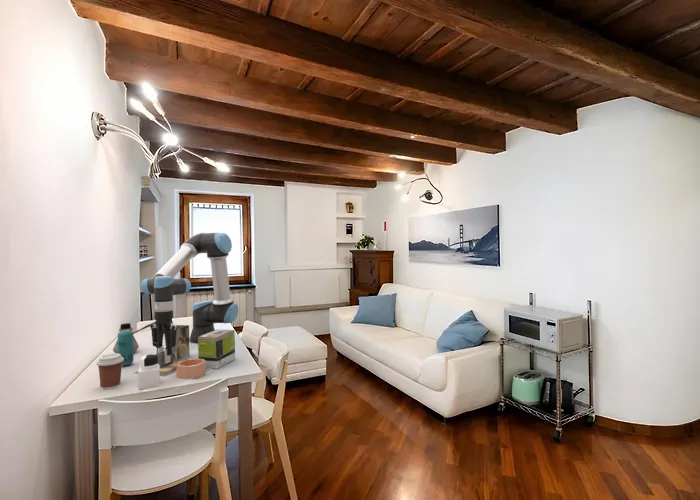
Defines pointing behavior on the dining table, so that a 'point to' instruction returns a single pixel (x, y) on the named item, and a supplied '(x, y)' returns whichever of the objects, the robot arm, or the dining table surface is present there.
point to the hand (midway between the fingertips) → (164, 362)
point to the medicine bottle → (148, 372)
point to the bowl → (191, 368)
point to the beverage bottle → (125, 344)
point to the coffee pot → (133, 338)
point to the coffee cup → (110, 370)
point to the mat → (162, 374)
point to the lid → (168, 366)
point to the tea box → (217, 348)
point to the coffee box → (181, 343)
